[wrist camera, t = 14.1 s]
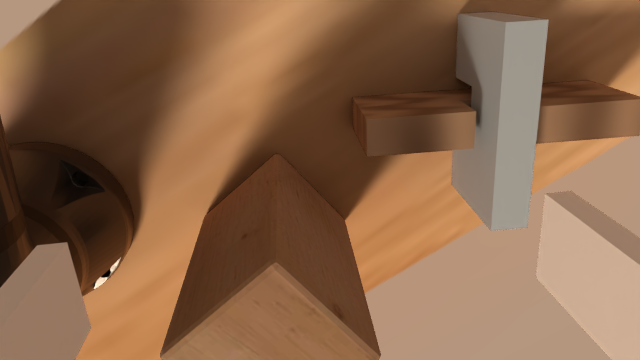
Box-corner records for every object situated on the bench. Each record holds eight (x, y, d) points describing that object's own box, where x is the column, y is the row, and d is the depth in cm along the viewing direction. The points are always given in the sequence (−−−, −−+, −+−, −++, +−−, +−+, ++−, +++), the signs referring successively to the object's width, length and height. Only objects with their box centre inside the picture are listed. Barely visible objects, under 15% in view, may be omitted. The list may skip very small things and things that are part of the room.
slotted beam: (353, 129, 47) (367, 156, 39) (352, 97, 46) (366, 119, 38) (583, 111, 48) (639, 135, 41) (587, 80, 47) (646, 98, 39)
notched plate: (451, 184, 50) (490, 230, 40) (458, 13, 44) (505, 22, 35) (481, 181, 50) (527, 227, 41) (492, 11, 44) (548, 19, 35)
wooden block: (277, 150, 47) (276, 259, 29) (346, 220, 50) (385, 359, 32) (202, 216, 49) (154, 359, 30) (273, 280, 52) (269, 444, 34)
